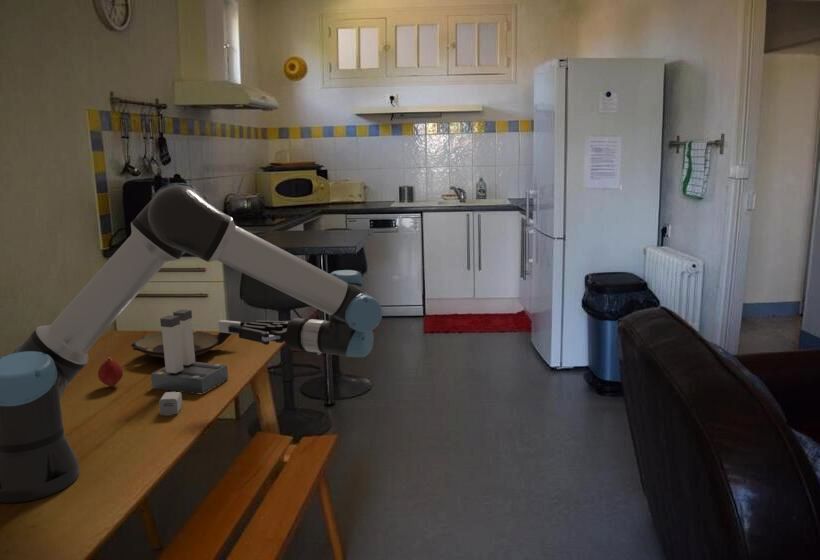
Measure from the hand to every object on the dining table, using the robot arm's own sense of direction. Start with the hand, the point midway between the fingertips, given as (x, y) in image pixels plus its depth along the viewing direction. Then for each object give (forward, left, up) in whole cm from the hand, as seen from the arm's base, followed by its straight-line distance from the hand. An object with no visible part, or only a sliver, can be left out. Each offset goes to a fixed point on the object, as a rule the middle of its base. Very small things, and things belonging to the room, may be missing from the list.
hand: (220, 325), depth 163 cm
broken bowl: (+35, +10, -18) cm, 40 cm away
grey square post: (+8, +12, -13) cm, 19 cm away
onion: (+14, +28, -17) cm, 36 cm away
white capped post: (+13, +9, -13) cm, 21 cm away
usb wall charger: (-7, +12, -18) cm, 22 cm away
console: (+9, +9, -17) cm, 21 cm away
